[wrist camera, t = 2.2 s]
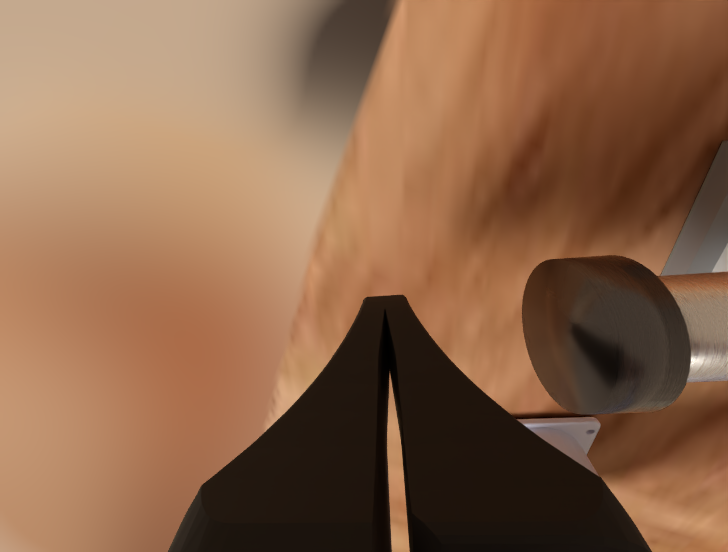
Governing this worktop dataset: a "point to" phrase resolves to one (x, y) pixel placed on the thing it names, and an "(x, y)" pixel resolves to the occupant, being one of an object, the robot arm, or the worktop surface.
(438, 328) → the worktop surface
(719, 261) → the shaft stand
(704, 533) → the worktop surface
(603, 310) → the shaft
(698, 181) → the worktop surface
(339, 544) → the robot arm
